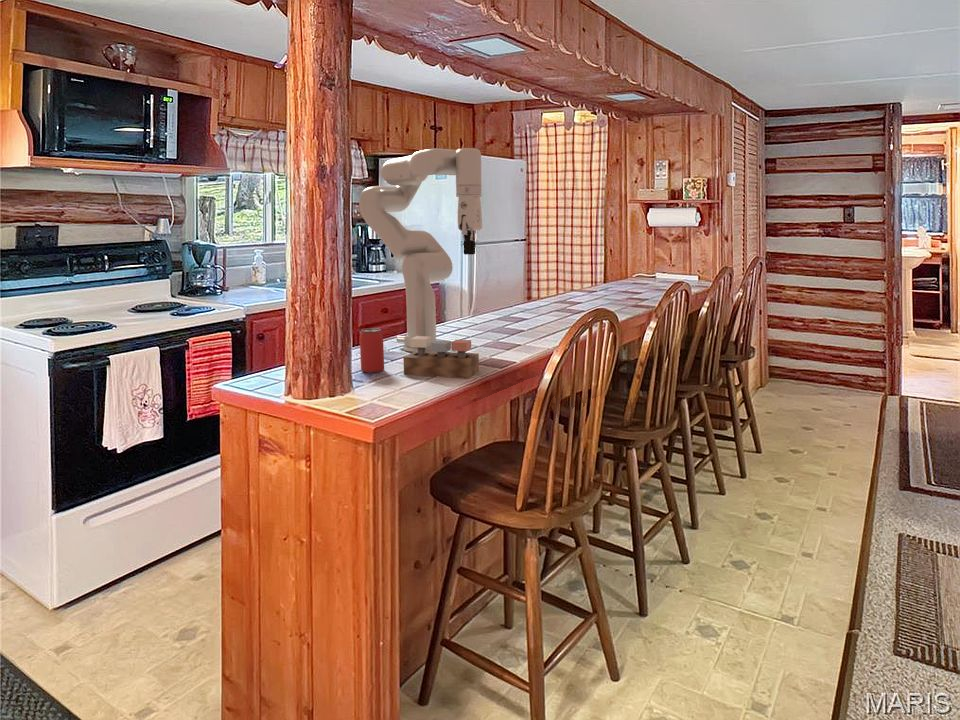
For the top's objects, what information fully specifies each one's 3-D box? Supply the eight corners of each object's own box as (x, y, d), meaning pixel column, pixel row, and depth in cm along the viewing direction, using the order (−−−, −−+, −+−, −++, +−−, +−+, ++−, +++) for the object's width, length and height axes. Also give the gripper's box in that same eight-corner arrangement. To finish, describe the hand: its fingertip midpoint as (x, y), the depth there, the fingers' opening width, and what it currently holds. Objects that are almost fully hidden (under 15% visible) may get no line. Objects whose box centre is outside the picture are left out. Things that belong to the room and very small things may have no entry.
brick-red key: (451, 368, 200) (451, 342, 199) (456, 365, 204) (456, 339, 203) (466, 369, 199) (466, 342, 197) (471, 365, 203) (471, 340, 202)
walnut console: (403, 374, 202) (403, 357, 201) (417, 367, 211) (416, 350, 210) (468, 378, 196) (468, 360, 195) (478, 370, 206) (478, 353, 205)
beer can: (356, 371, 207) (354, 329, 204) (375, 367, 211) (373, 327, 209) (370, 374, 202) (368, 332, 200) (388, 370, 207) (387, 329, 204)
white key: (411, 364, 204) (411, 338, 202) (417, 361, 208) (416, 335, 206) (426, 365, 202) (425, 339, 201) (431, 361, 206) (431, 336, 205)
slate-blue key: (431, 368, 202) (431, 343, 201) (437, 365, 206) (436, 340, 205) (446, 369, 201) (445, 343, 199) (451, 366, 205) (451, 341, 203)
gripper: (473, 191, 204) (474, 256, 208) (487, 192, 218) (488, 252, 222) (448, 191, 206) (449, 255, 210) (464, 192, 220) (465, 252, 224)
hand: (469, 254), depth 216 cm, fingers closed
